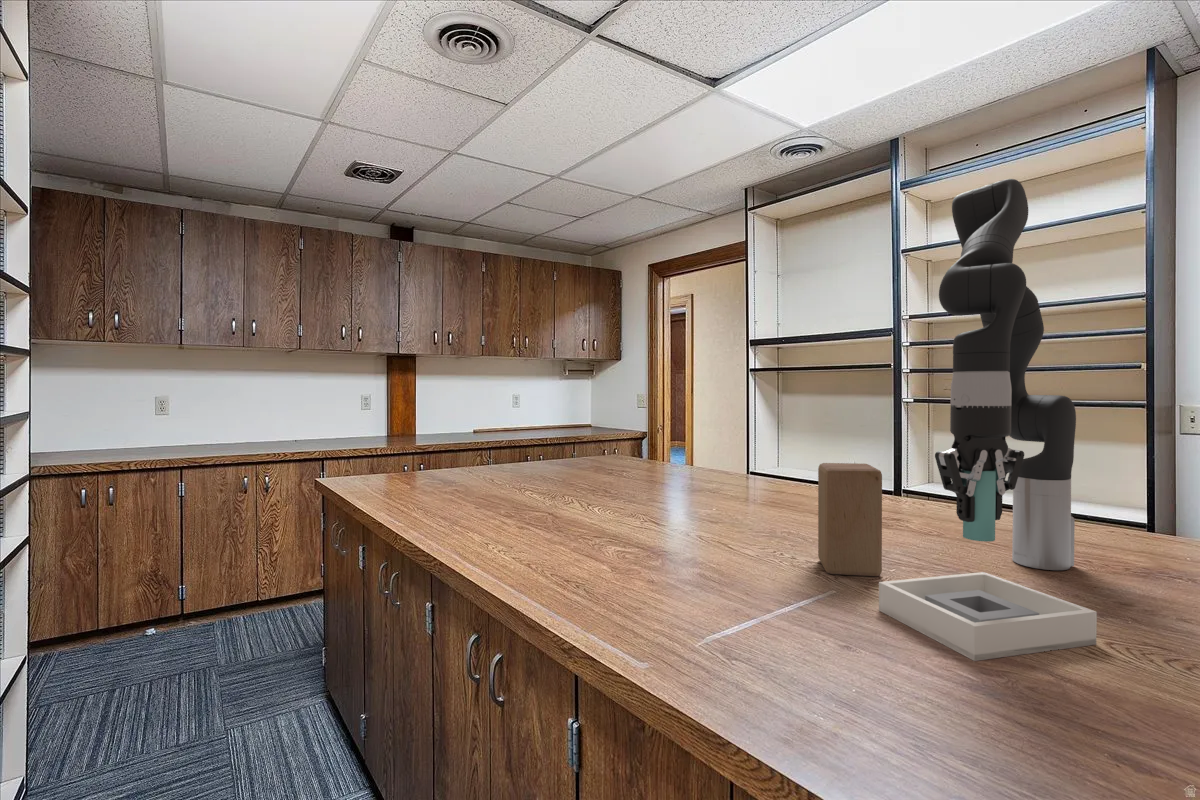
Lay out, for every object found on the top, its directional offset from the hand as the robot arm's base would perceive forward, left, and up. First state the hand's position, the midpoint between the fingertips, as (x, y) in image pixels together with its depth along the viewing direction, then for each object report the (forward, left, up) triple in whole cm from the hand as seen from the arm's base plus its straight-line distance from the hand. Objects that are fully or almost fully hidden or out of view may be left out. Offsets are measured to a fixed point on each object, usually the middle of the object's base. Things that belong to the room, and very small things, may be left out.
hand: (979, 519), depth 88 cm
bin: (0, 0, -16) cm, 16 cm away
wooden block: (+1, -29, -16) cm, 33 cm away
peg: (0, 0, -3) cm, 3 cm away
